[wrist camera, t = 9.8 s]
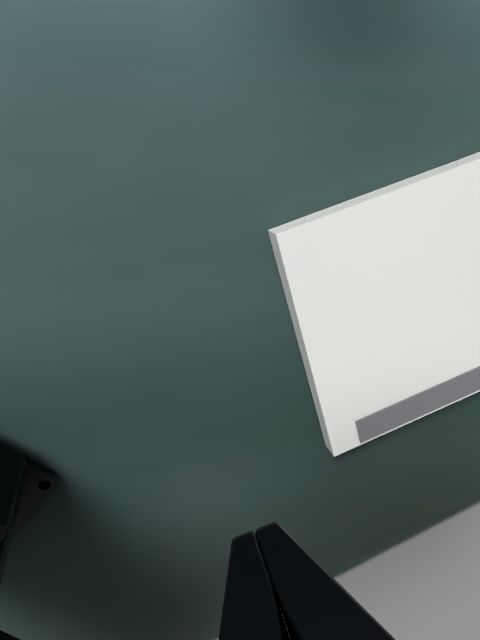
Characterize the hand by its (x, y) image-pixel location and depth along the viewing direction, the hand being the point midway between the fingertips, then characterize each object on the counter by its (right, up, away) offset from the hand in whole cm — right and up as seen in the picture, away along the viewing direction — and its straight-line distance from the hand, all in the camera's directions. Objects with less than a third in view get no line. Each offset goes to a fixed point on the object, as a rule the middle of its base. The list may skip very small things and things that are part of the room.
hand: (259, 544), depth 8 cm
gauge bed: (+13, +7, +15) cm, 21 cm away
